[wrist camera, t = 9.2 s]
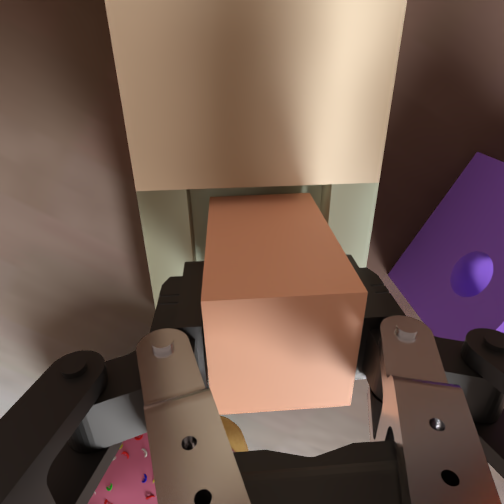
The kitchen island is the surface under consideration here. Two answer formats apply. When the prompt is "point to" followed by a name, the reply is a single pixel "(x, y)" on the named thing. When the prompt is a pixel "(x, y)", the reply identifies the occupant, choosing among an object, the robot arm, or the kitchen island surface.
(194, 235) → the rail
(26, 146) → the kitchen island surface
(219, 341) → the salmon orange rectangular block
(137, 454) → the cupcake
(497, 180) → the bracket
